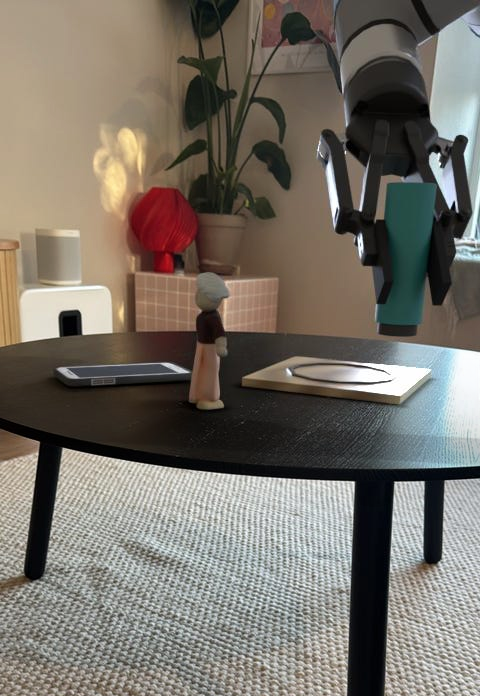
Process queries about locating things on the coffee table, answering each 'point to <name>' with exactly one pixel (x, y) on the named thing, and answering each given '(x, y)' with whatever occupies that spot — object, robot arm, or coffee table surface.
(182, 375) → the cell phone
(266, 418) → the coffee table surface
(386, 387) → the board
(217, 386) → the grandmother figurine
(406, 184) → the cylinder
